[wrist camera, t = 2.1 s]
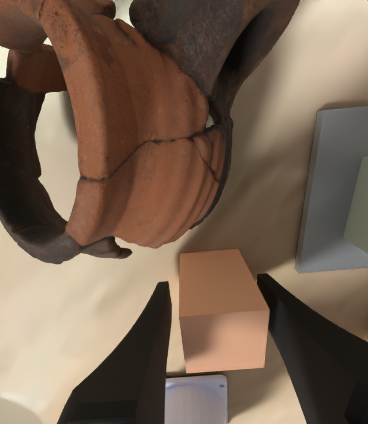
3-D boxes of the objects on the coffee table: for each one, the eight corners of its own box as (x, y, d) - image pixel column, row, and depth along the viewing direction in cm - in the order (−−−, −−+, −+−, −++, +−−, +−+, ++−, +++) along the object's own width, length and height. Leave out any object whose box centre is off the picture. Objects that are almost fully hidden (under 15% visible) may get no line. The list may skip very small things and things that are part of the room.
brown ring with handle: (175, 249, 14) (50, 338, 7) (103, 153, 15) (-60, 142, 8) (357, 98, 8) (1022, -612, 1) (207, -36, 9) (-66, -669, 2)
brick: (237, 293, 15) (263, 367, 10) (184, 298, 15) (186, 373, 10) (238, 248, 13) (269, 309, 8) (179, 253, 13) (179, 316, 9)
